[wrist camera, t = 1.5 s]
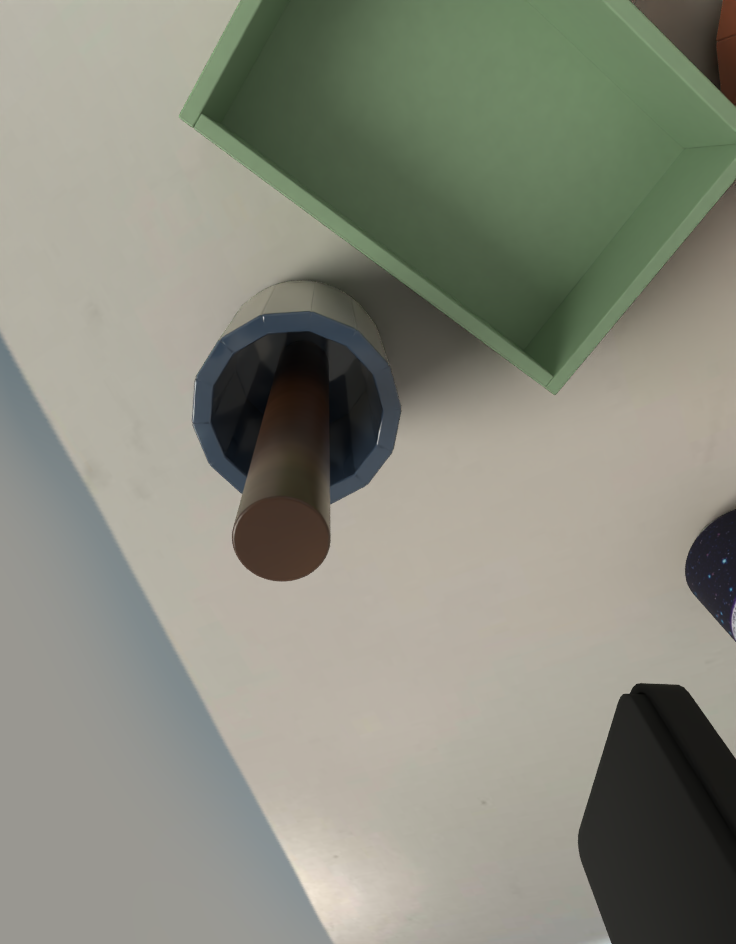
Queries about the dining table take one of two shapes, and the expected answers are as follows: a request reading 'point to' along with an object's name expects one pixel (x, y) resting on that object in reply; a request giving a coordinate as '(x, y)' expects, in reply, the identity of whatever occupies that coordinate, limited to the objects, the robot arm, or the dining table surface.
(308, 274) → the dining table surface
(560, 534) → the dining table surface
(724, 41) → the bowl
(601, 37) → the tray
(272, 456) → the stick
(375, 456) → the holder
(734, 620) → the beverage can
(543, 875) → the dining table surface
